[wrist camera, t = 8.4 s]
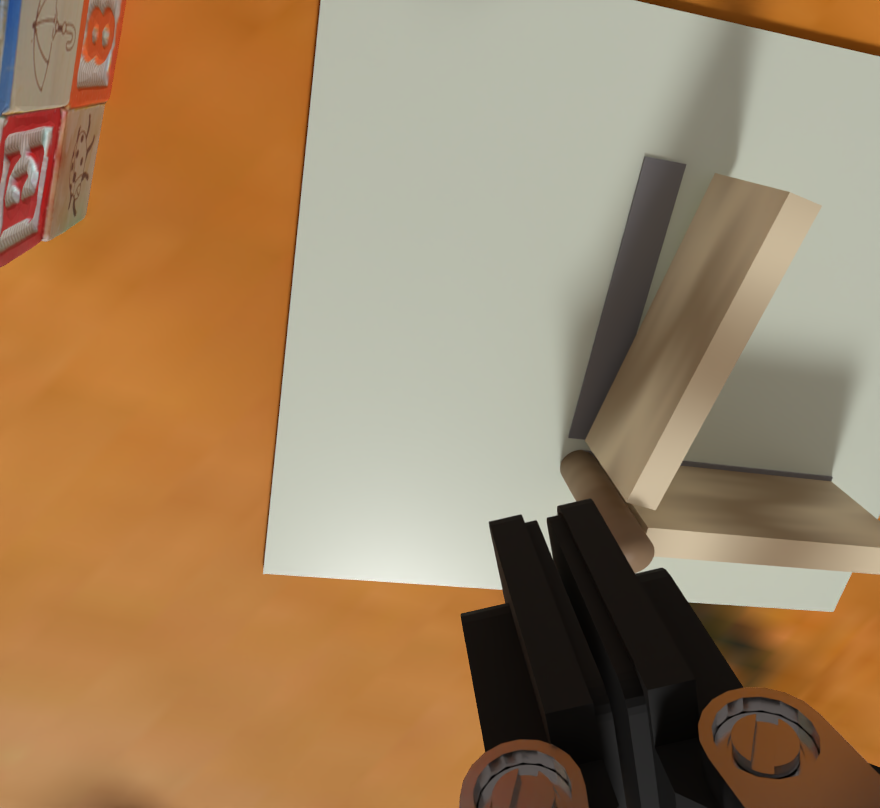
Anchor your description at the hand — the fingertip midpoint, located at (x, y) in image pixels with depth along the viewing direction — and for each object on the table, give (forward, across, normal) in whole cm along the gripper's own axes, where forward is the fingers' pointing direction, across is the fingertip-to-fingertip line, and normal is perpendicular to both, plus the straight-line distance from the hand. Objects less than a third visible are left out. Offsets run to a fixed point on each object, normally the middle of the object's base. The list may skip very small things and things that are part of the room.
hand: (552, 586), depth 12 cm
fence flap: (+10, -6, 0) cm, 12 cm away
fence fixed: (+11, -7, +6) cm, 14 cm away
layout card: (+11, -5, +1) cm, 12 cm away
